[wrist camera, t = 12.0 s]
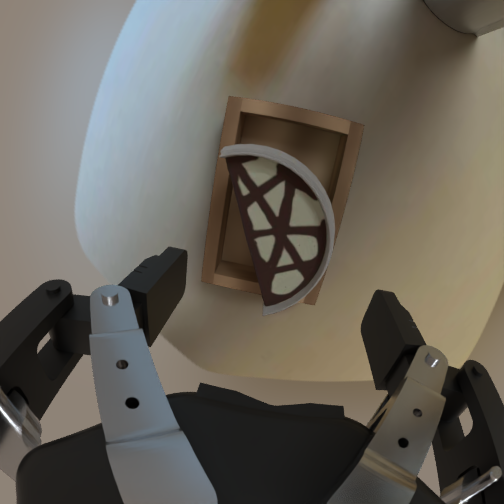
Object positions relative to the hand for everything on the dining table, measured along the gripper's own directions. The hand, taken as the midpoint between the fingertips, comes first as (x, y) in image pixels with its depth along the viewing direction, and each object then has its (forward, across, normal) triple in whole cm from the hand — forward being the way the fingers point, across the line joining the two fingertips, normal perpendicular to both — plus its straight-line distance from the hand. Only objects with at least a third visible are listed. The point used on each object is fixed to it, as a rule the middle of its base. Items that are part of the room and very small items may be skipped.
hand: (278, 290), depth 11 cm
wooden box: (+17, +1, 0) cm, 17 cm away
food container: (+17, 0, 0) cm, 17 cm away
